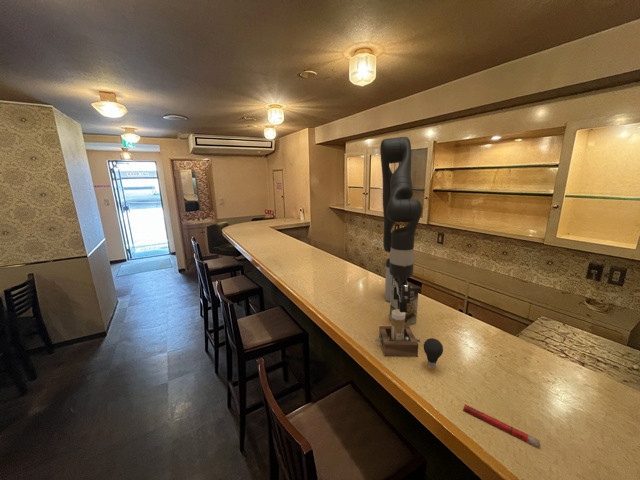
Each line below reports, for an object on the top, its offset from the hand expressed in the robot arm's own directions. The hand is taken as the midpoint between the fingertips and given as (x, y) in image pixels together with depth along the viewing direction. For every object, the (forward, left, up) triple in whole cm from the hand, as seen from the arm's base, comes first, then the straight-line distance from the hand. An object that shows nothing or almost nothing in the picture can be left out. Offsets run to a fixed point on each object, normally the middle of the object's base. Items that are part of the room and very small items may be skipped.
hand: (399, 305), depth 88 cm
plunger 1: (0, -5, -15) cm, 16 cm away
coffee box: (-16, +6, -16) cm, 24 cm away
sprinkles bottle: (0, 0, -16) cm, 16 cm away
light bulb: (+11, +8, -16) cm, 21 cm away
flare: (+30, +17, -17) cm, 38 cm away
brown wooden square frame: (0, 0, -16) cm, 16 cm away
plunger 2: (0, +5, -15) cm, 16 cm away
